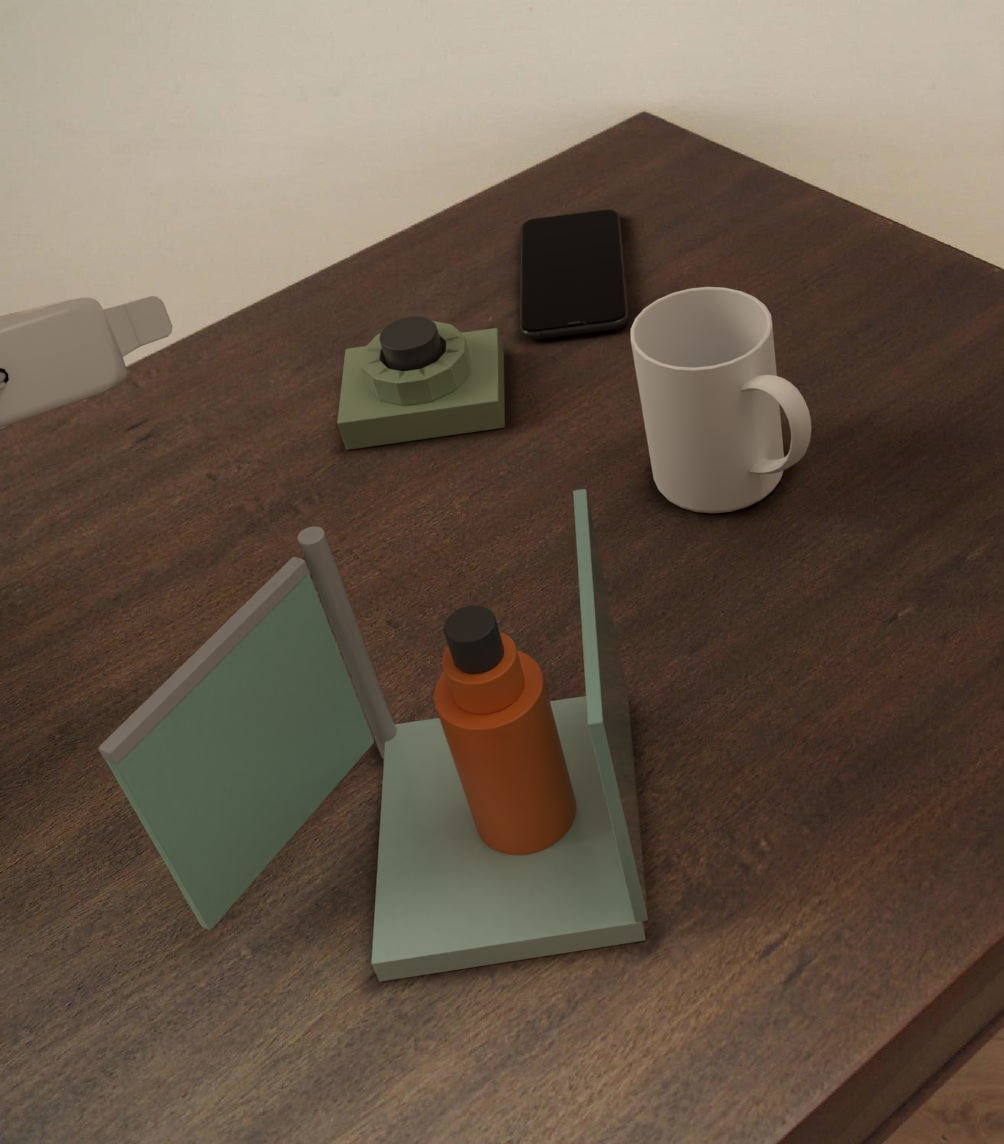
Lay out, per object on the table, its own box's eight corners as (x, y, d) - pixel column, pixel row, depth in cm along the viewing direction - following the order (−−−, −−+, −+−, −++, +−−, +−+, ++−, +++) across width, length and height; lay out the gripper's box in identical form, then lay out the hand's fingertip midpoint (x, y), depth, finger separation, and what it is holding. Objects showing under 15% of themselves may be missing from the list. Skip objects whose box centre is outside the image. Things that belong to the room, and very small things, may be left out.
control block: (346, 450, 98) (328, 399, 95) (353, 375, 104) (337, 325, 101) (505, 428, 98) (492, 376, 96) (504, 354, 104) (492, 303, 101)
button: (384, 376, 97) (377, 353, 96) (387, 343, 100) (380, 320, 98) (442, 368, 97) (436, 345, 96) (443, 335, 100) (437, 312, 99)
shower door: (181, 917, 71) (75, 738, 62) (346, 731, 78) (273, 548, 70) (211, 931, 70) (109, 753, 61) (376, 742, 77) (305, 559, 69)
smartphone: (521, 228, 115) (520, 344, 104) (519, 218, 115) (518, 334, 104) (621, 215, 116) (631, 330, 105) (619, 205, 115) (629, 320, 104)
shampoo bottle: (475, 862, 72) (409, 673, 63) (476, 782, 76) (413, 591, 67) (578, 847, 73) (527, 655, 64) (574, 767, 76) (525, 575, 67)
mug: (627, 473, 94) (601, 328, 87) (727, 413, 98) (710, 270, 90) (759, 571, 87) (743, 423, 80) (862, 503, 91) (855, 355, 83)
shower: (365, 984, 70) (266, 772, 59) (381, 744, 80) (298, 527, 70) (652, 939, 70) (602, 721, 60) (631, 707, 81) (585, 486, 70)
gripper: (-147, 324, 53) (201, 224, 62) (-330, 372, 66) (-20, 283, 76) (-68, 499, 55) (258, 375, 64) (-262, 511, 68) (32, 407, 78)
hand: (106, 326), depth 70 cm, fingers open, 8 cm apart
